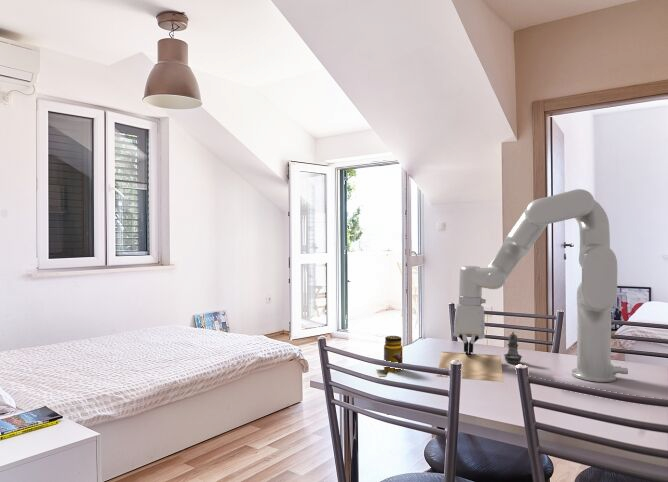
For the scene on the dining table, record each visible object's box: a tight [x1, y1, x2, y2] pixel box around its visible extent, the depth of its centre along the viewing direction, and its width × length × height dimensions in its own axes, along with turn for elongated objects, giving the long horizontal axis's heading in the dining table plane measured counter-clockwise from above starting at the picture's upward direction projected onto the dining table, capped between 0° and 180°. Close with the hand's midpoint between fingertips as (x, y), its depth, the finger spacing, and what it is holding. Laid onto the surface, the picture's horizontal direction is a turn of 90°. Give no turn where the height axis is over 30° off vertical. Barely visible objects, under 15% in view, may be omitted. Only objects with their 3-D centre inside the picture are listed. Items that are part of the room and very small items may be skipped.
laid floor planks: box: [435, 368, 504, 383], centre depth 156 cm, size 20×10×1 cm, turn 73°
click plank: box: [438, 351, 503, 374], centre depth 167 cm, size 20×12×1 cm, turn 73°
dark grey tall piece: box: [503, 331, 523, 365], centre depth 170 cm, size 6×6×12 cm
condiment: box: [375, 335, 403, 377], centre depth 161 cm, size 7×8×12 cm
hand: (468, 354), depth 171 cm, fingers closed
